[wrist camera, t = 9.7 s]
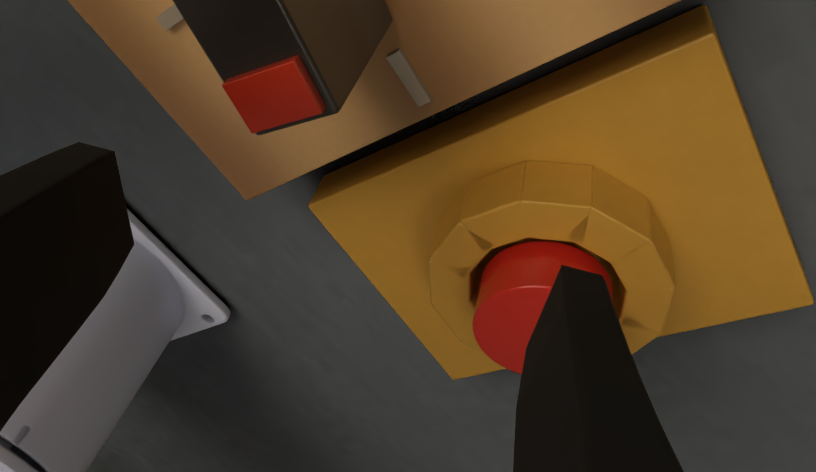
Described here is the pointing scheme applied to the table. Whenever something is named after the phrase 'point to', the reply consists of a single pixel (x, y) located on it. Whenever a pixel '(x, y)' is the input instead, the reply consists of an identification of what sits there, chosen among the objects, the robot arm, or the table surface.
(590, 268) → the button
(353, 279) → the table surface
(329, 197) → the button block
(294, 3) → the black block
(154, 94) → the panel
